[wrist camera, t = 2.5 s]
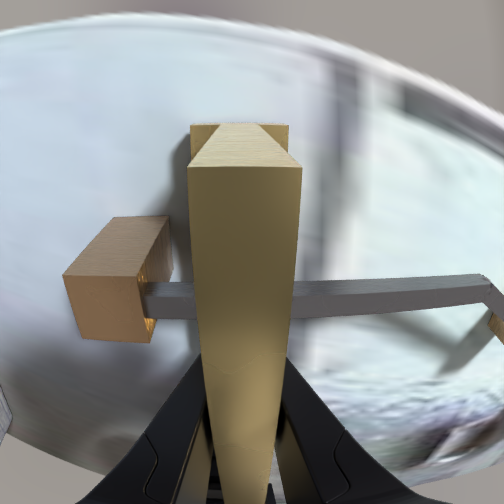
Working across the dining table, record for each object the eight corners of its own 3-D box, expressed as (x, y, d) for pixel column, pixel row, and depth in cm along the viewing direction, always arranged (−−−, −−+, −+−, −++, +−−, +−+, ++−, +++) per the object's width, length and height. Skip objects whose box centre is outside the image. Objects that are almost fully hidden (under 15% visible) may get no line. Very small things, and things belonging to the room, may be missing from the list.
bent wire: (508, 321, 21) (544, 363, 16) (140, 348, 20) (118, 421, 14) (542, 226, 17) (592, 261, 12) (113, 217, 16) (62, 275, 10)
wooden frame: (273, 338, 19) (296, 503, 9) (205, 338, 19) (192, 505, 9) (284, 123, 13) (388, 172, 4) (193, 123, 13) (99, 172, 4)
